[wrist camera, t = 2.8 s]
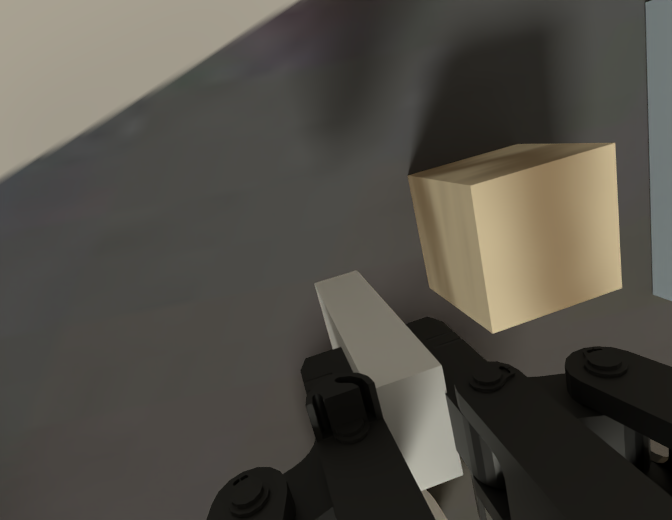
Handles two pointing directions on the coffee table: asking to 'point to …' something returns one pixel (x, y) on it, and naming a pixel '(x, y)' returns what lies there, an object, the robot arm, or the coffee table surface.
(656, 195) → the board
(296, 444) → the coffee table surface
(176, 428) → the coffee table surface
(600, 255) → the block
